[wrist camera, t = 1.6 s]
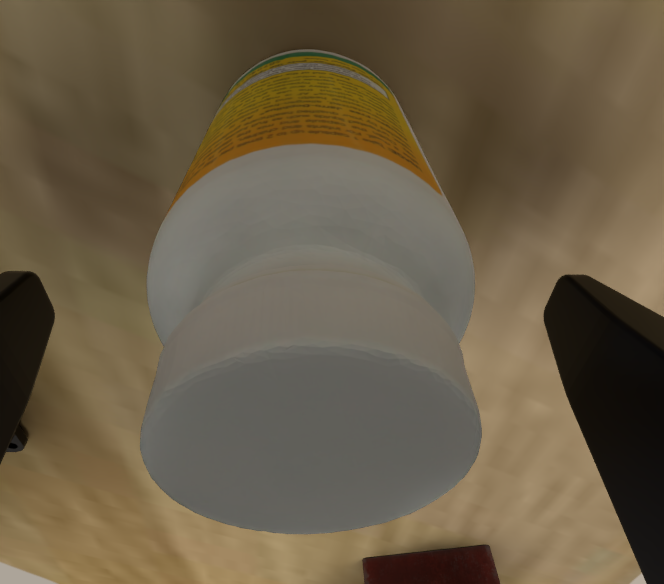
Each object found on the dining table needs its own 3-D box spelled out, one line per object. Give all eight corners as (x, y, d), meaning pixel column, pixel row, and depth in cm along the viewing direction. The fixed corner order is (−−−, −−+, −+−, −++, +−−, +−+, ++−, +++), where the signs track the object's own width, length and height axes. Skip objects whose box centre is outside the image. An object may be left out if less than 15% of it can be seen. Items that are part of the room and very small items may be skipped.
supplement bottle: (435, 177, 13) (592, 493, 6) (286, 256, 15) (268, 583, 8) (345, -8, 10) (441, 173, 3) (171, 117, 12) (-45, 435, 5)
